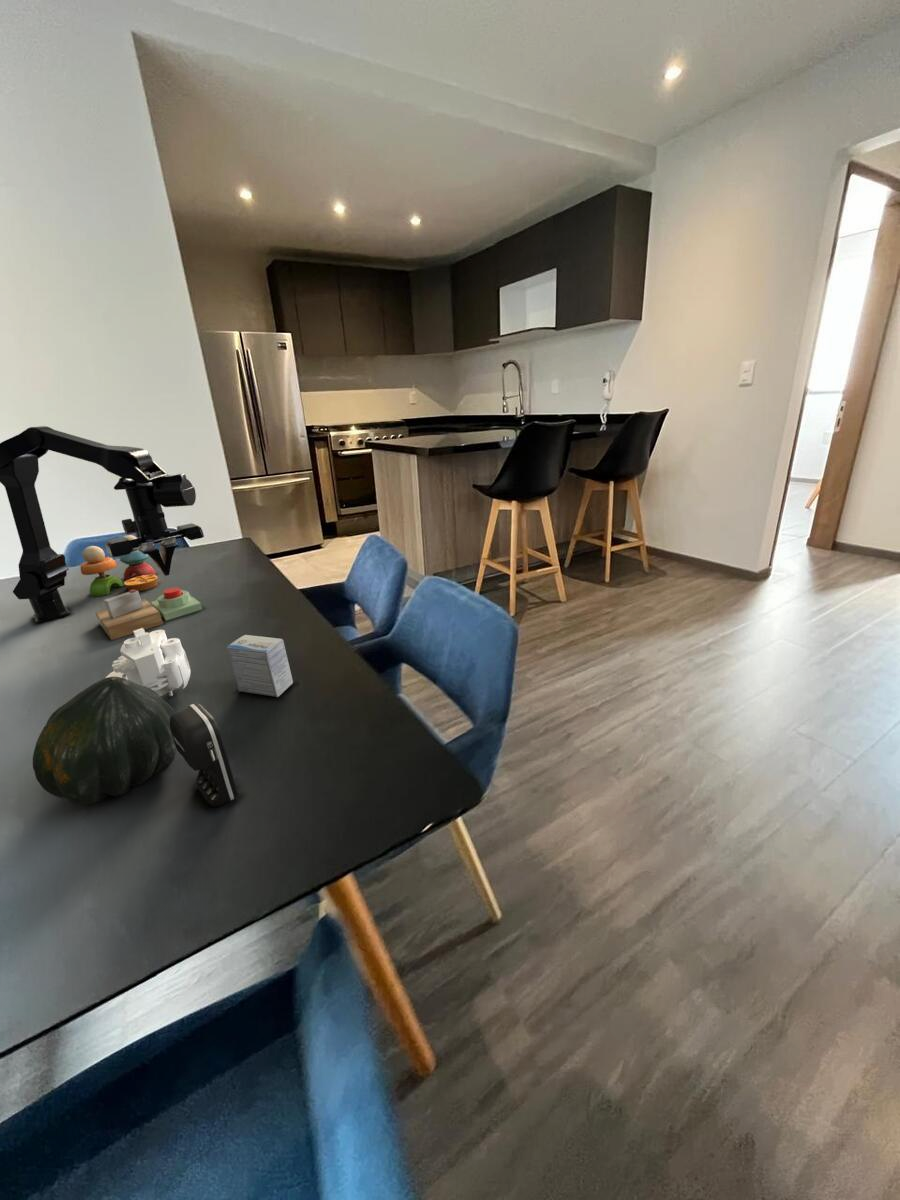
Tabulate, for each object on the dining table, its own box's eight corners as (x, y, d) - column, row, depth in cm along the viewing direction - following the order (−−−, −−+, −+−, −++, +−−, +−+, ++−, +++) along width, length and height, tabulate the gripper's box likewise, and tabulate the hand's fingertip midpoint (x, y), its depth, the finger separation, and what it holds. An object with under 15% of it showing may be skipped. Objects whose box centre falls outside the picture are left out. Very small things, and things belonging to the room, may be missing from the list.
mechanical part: (120, 692, 83) (96, 630, 79) (197, 674, 88) (179, 614, 83) (106, 729, 74) (79, 660, 69) (194, 707, 78) (173, 641, 73)
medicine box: (294, 684, 83) (284, 638, 79) (277, 698, 79) (266, 651, 75) (255, 678, 85) (244, 633, 82) (237, 692, 81) (225, 646, 78)
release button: (163, 597, 116) (161, 590, 115) (179, 593, 118) (177, 586, 118) (167, 601, 114) (165, 594, 113) (184, 596, 116) (182, 589, 115)
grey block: (113, 618, 106) (106, 600, 105) (109, 616, 107) (103, 599, 105) (143, 607, 111) (137, 589, 110) (139, 606, 112) (134, 588, 110)
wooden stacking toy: (146, 593, 128) (131, 547, 124) (82, 597, 129) (65, 551, 124) (181, 570, 145) (169, 529, 140) (124, 574, 146) (111, 533, 141)
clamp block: (98, 625, 111) (93, 612, 110) (150, 609, 118) (146, 597, 117) (109, 640, 103) (104, 627, 102) (164, 623, 110) (160, 610, 108)
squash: (-3, 764, 59) (14, 697, 52) (116, 699, 72) (143, 639, 65) (79, 847, 59) (107, 792, 51) (184, 767, 72) (219, 714, 64)
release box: (152, 608, 118) (148, 595, 117) (187, 598, 123) (183, 585, 122) (166, 620, 111) (161, 606, 110) (202, 609, 116) (198, 595, 115)
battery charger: (187, 787, 61) (161, 711, 57) (218, 770, 64) (195, 696, 59) (208, 816, 57) (181, 736, 52) (241, 798, 59) (217, 719, 55)
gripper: (180, 497, 119) (196, 558, 125) (89, 512, 108) (113, 579, 114) (195, 502, 112) (212, 566, 118) (100, 518, 100) (124, 590, 106)
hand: (166, 575), depth 114 cm, fingers closed
